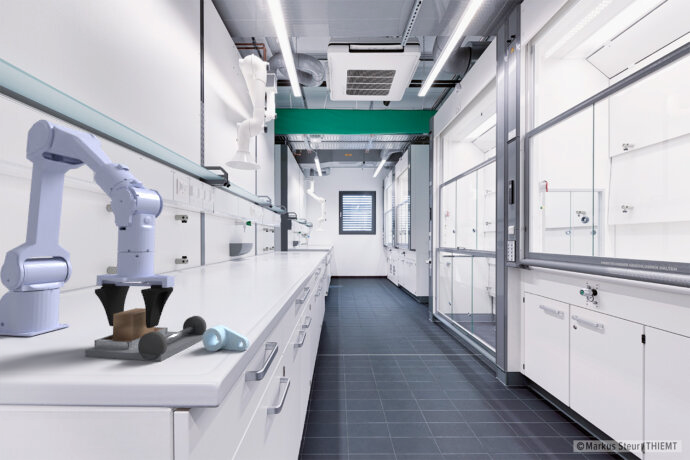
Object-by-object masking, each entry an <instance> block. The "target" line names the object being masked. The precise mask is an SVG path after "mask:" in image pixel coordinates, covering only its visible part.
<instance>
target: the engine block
mask: <svg viewBox="0 0 690 460" xmlns="http://www.w3.org/2000/svg"><path fill="white" fill-rule="evenodd" d="M152 331H154V327H152V328H147V327H146V309H145V308H142V307H141V308H139V307H138V308H137V307H136V308H133V309H128V310H124V312H120V313H116V314H114V316H113V326H112V334H113V340H120V341H132V340H134V339H137V338H140V337H142V336H143V335H144V334H147V333H149V332H152Z"/></svg>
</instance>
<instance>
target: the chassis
mask: <svg viewBox="0 0 690 460" xmlns="http://www.w3.org/2000/svg"><path fill="white" fill-rule="evenodd" d="M182 324H183V325H182V329H181V330H179V331H168V327H165V326H161V327H160V326H159V327H158V326H155V327H154V331H152V332H149V333H147V334H144V335H143V336H142V337H140V338H137V339H134V340H132V341H120V340H113V333H111V334H110V335H107V336H106V335H105V336H104V337H100V338H98V339H95V340H94V345H93V346H94V347H90V348H88V349H85V350H84V354H85V355H84V356H85V357H92V358H106V359H122V360H133V361H135V360H136V361H139V360H140V361H149V362H150V361H152V362H162V361H165V360H166V359H168V358H171V357H173V356H175V355H177V354H178V353H180V352H182V351H184V350H185V349H188V348H190V347H192V346H194V345H195V344H198V343H200V342H201V341H203V340H202V339H203V334H204V332H205V331H206V330H207V323H206V321H205V319H204V318H203V317H202V316H200V315H192V316H190V317H188V318H187V319H185V320H184V322H183V323H182Z"/></svg>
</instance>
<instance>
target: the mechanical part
mask: <svg viewBox="0 0 690 460" xmlns="http://www.w3.org/2000/svg"><path fill="white" fill-rule="evenodd" d="M201 341H202V345H203V346H204V348H205V349H206V350H207V352H208V351H209V352H216V351H218V350H221V349H223V350H231V351H239V352H243V351H245V350H246V351H247V349H249V347H250V341H249V339H248V337H247V336H245V335H243V334H242V333H239V332H237V331H235V330H233V329H231V328H230V327H227V326H226V325H224V324H219V325H216V326H212V327H210V328H206V331H205V332H204V334H203V339H202V340H201Z"/></svg>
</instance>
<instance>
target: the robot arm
mask: <svg viewBox="0 0 690 460" xmlns="http://www.w3.org/2000/svg"><path fill="white" fill-rule="evenodd" d="M101 146H102V144H101V140H100V139H98V138H97V136H96V135H95V134H93V133H88V132H84V131H80V130H77V129H74V128H69V127H67V126H64V125H60V124H57V123H54V122H52V121H49V120H47V119H40V120H37V121H36V122H34V124H32V125H31V127H30V128H29V130H28V131H27V140H26V149H25V153H26V155H25V158H26V159H27V160H28V161H29V162H31V163H32V170H31V181H30V182H31V183H30V190H29V191H30V193H29V204H28V214H27V222H26V223H27V225H26V227H27V228H26V235H25V242H23V243H21V244H19V245H18V246H16V247H14V248H12V249H10V250H8V251H7V252H5V253H6V254H5V258H4V261H3V263H2V265H1V268H0V282H1V284H2V285H3V286H4V287H5V288H6V289H7V292H5V293H3V295H2V296H1V298H0V336H16V337H33V336H36V335H41V334H44V333H49V332H52V331H55V330H61V329H64V328H68V327H70V326H71V325H70V324H69V323H60V322H59V321H60V299H61V297H60V296H61V288H64V287H65V284H66V283H67V282H69V280H70V279H71V277H72V274H73V266H72V263H71V252H69V250H67V249H66V248H64V247H63V246H61V245H60V244H59V242H60V241H59V240H60V230H61V229H60V228H61V217H62V207H63V206H62V205H63V196H64V185H65V176H66V175H65V174H66V173H68V172H69V171H70V170H75V169H76V170H77V169H79V168H81V167H82V166H84V165H86V166H87V167H88V168H89V169H90V170H91V171H92V172H93V173H94V177H93V178H94V181H95V183H96V184H97V186H98V187H100V189H101V190H102V191H103V192H104V194H106V196H108V197H109V199H111V201H110V208H111V212H112V213H113V215H114V224H115V226H116V227H117V252H116V253H117V254H116V255H117V256H116V257H117V258H116V273H115V274H100V275H99V274H98V275H96V285H95V286H98V287H100V288H96V289H94V294H95V296H97V298H98V299H99V300H100V303H101V304H102V306H103V309H104V311H105V315H106V318H107V321H108V322H107V323H108V324H109V325H108V326H109V327H113V316H114V314H116V313H120V312H124V311H125V304H126V299H127V296H128V295H127V294H128V292H129V289H130V287H148V288H143V289H141V290H140V293H141V296H142V299H143V302H144V309H146V327H147V328H152V327H158V326H159V323H160V319H161V316H162V313H163V310H164V307H165V305H166V303H167V301H168V300H169V298H170V296H171V294H172V293H173V291H174V287H175V275H163V274H154V271H155V241H156V240H155V239H156V237H155V235H156V219H157V218H158V217H159V216H161V213H162V212H163V209H164V199H163V197H162V195H161V194H160V192H159V190H157V189H152V188H151V189H150V188H149V189H148V187H145V186H144V185H143V182H142V181H141V180H140V179H137V178H136V177H135V175H134V174H133V173H132V172H130V168H129V166H128V165H127V164H126V165H125V164H123V163H117V162H113V161H112V160H111V158H109V156H108V155H107V154H106V153H105V151H104V150H103V148H102V147H101Z"/></svg>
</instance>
